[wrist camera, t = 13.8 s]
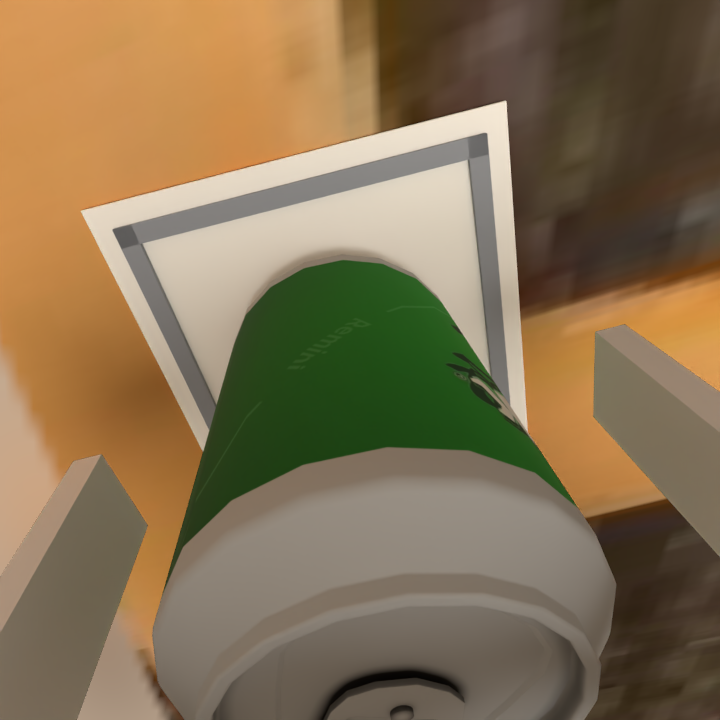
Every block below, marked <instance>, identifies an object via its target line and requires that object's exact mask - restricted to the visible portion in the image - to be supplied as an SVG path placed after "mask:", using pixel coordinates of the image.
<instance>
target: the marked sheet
mask: <svg viewBox="0 0 720 720" xmlns="http://www.w3.org/2000/svg"><path fill="white" fill-rule="evenodd" d="M81 213H82V215H83V217H84V219H85V220H86V222H87V224H88V226H89V228H90V230H91V232H92V234H93V236H94V238H95V240H96V242H97V244H98V246H99V248H100V250H101V252H102V254H103V256H104V258H105V260H106V262H107V264H108V266H109V268H110V270H111V272H112V274H113V276H114V278H115V280H116V282H117V284H118V286H119V287H120V289H121V291H122V293H123V295H124V297H125V299H126V301H127V303H128V305H129V307H130V309H131V311H132V313H133V315H134V317H135V319H136V321H137V323H138V325H139V327H140V329H141V331H142V333H143V335H144V337H145V339H146V341H147V343H148V345H149V347H150V349H151V351H152V353H153V355H154V356H155V358H156V360H157V362H158V364H159V366H160V368H161V370H162V372H163V374H164V376H165V378H166V380H167V382H168V384H169V386H170V388H171V390H172V392H173V394H174V396H175V398H176V400H177V402H178V404H179V406H180V408H181V410H182V412H183V414H184V416H185V418H186V420H187V422H188V423H189V425H190V427H191V429H192V431H193V433H194V435H195V437H196V439H197V441H198V443H199V445H200V447H201V449H202V451H204V447H205V444H206V440H207V437H208V433H209V430H210V426H211V423H212V419H213V416H214V412H215V409H216V405H217V402H218V398H219V395H220V391H221V388H222V384H223V381H224V377H225V374H226V370H227V367H228V363H229V360H230V356H231V353H232V349H233V346H234V342H235V339H236V336H237V334H238V331H239V329H240V326H241V324H242V321H243V319H244V316H245V313H246V311H247V308H248V307H249V306H250V305H251V304H252V303H253V302H254V300H255V299H256V298H257V297H258V296H259V295H260V294H261V292H262V291H263V290H264V289H265V288H266V287H267V286H268V285H269V283H270V282H271V281H273V280H274V279H276V278H278V277H279V276H281V275H283V274H285V273H286V272H288V271H290V270H292V269H293V268H295V267H297V266H299V265H300V264H302V263H304V262H308V261H313V260H317V259H322V258H327V257H332V256H336V255H341V254H343V255H353V256H363V257H373V258H380V259H382V260H385V261H387V262H389V263H391V264H393V265H396V266H398V267H400V268H402V269H405V270H407V271H409V272H411V273H413V274H414V275H416V276H417V277H418V278H419V279H420V280H421V281H422V282H423V283H424V284H425V285H426V286H427V287H428V288H429V289H430V290H431V291H432V292H433V293H435V294H436V295H437V296H438V298H439V299H440V301H441V302H442V304H443V305H444V307H445V308H446V310H447V311H448V313H449V314H450V316H451V317H452V319H453V320H454V322H455V323H456V325H457V326H458V328H459V329H460V331H461V332H462V334H463V335H464V337H465V338H466V340H467V341H468V343H469V344H470V346H471V347H472V349H473V350H474V352H475V353H476V355H477V356H478V358H479V359H480V361H481V362H482V364H483V365H484V367H485V369H486V370H487V372H488V373H489V375H490V376H491V378H492V379H493V381H494V382H495V384H496V385H497V387H498V388H499V390H500V391H501V393H502V394H503V396H504V397H505V399H506V400H507V402H508V403H509V405H510V406H511V408H512V409H513V411H514V412H515V414H516V415H517V417H518V418H519V420H520V421H521V423H522V424H523V426H524V427H525V429H526V430H527V432H528V428H527V413H526V397H525V382H524V366H523V351H522V336H521V320H520V305H519V290H518V274H517V259H516V244H515V228H514V213H513V198H512V182H511V167H510V152H509V136H508V121H507V106H506V101H501V102H497V103H493V104H489V105H485V106H482V107H478V108H474V109H470V110H466V111H462V112H458V113H455V114H451V115H447V116H443V117H439V118H435V119H431V120H428V121H424V122H420V123H416V124H412V125H408V126H404V127H401V128H397V129H393V130H389V131H385V132H381V133H377V134H374V135H370V136H366V137H362V138H358V139H354V140H350V141H347V142H343V143H339V144H335V145H331V146H327V147H323V148H320V149H316V150H312V151H308V152H304V153H300V154H296V155H293V156H289V157H285V158H281V159H277V160H273V161H269V162H266V163H262V164H258V165H254V166H250V167H246V168H242V169H239V170H235V171H231V172H227V173H223V174H219V175H215V176H212V177H208V178H204V179H200V180H196V181H192V182H189V183H185V184H181V185H177V186H173V187H169V188H165V189H161V190H158V191H154V192H150V193H146V194H142V195H138V196H134V197H131V198H127V199H123V200H119V201H115V202H111V203H108V204H104V205H100V206H96V207H92V208H88V209H84V210H82V211H81Z"/></svg>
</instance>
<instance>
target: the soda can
mask: <svg viewBox="0 0 720 720" xmlns="http://www.w3.org/2000/svg"><path fill="white" fill-rule="evenodd" d="M615 592H616V582H615V579H614V577H613V574H612V572H611V570H610V567H609V565H608V563H607V560H606V558H605V556H604V553H603V551H602V548H601V546H600V544H599V541H598V539H597V537H596V534H595V533H594V531H593V530H592V528H591V527H590V525H589V524H588V522H587V521H586V519H585V518H584V516H583V515H582V513H581V512H580V510H579V509H578V507H577V506H576V504H575V503H574V501H573V500H572V498H571V497H570V495H569V494H568V492H567V491H566V489H565V488H564V486H563V485H562V483H561V482H560V480H559V479H558V477H557V476H556V474H555V473H554V471H553V470H552V468H551V467H550V465H549V464H548V462H547V461H546V459H545V457H544V456H543V454H542V453H541V451H540V450H539V448H538V447H537V445H536V444H535V442H534V441H533V439H532V438H531V436H530V435H529V433H528V432H527V430H526V429H525V427H524V426H523V424H522V423H521V421H520V420H519V418H518V417H517V415H516V414H515V412H514V411H513V409H512V408H511V406H510V405H509V403H508V402H507V400H506V399H505V397H504V396H503V394H502V393H501V391H500V390H499V388H498V387H497V385H496V384H495V382H494V381H493V379H492V378H491V376H490V375H489V373H488V372H487V370H486V369H485V367H484V365H483V364H482V362H481V361H480V359H479V358H478V356H477V355H476V353H475V352H474V350H473V349H472V347H471V346H470V344H469V343H468V341H467V340H466V338H465V337H464V335H463V334H462V332H461V331H460V329H459V328H458V326H457V325H456V323H455V322H454V320H453V319H452V317H451V316H450V314H449V313H448V311H447V310H446V308H445V307H444V305H443V304H442V302H441V301H440V299H439V298H438V296H437V295H436V294H435V293H433V292H432V291H431V290H430V289H429V288H428V287H427V286H426V285H425V284H424V283H423V282H422V281H421V280H420V279H419V278H418V277H417V276H416V275H414V274H413V273H411V272H409V271H407V270H405V269H402V268H400V267H398V266H396V265H393V264H391V263H389V262H387V261H385V260H382V259H380V258H373V257H363V256H353V255H343V254H341V255H336V256H332V257H327V258H322V259H317V260H313V261H308V262H304V263H302V264H300V265H299V266H297V267H295V268H293V269H292V270H290V271H288V272H286V273H285V274H283V275H281V276H279V277H278V278H276V279H274V280H273V281H271V282H270V283H269V285H268V286H267V287H266V288H265V289H264V290H263V291H262V292H261V294H260V295H259V296H258V297H257V298H256V299H255V300H254V302H253V303H252V304H251V305H250V306H249V307H248V308H247V311H246V313H245V316H244V319H243V321H242V324H241V326H240V329H239V331H238V334H237V336H236V339H235V342H234V346H233V349H232V353H231V356H230V360H229V363H228V367H227V370H226V374H225V377H224V381H223V384H222V388H221V391H220V395H219V398H218V402H217V405H216V409H215V412H214V416H213V419H212V423H211V426H210V430H209V433H208V437H207V440H206V444H205V447H204V451H203V454H202V458H201V461H200V465H199V468H198V472H197V475H196V479H195V482H194V486H193V489H192V493H191V496H190V500H189V503H188V507H187V510H186V514H185V517H184V521H183V524H182V528H181V531H180V535H179V538H178V542H177V545H176V549H175V552H174V556H173V559H172V563H171V566H170V570H169V573H168V577H167V580H166V584H165V587H164V591H163V594H162V598H161V601H160V605H159V608H158V612H157V615H156V619H155V622H154V626H153V635H152V637H153V645H154V654H155V662H156V671H157V679H158V683H159V685H160V687H161V688H162V690H163V691H164V692H165V694H166V695H167V697H168V698H169V699H170V701H171V702H172V703H173V705H174V706H175V707H176V709H177V710H178V711H179V713H180V714H181V715H182V717H183V718H184V719H185V720H584V719H585V718H586V716H587V715H588V713H589V712H590V710H591V709H592V707H593V706H594V704H595V703H596V701H597V698H598V690H599V682H600V673H601V663H600V661H599V657H600V655H601V653H602V651H603V649H604V646H605V644H606V642H607V640H608V638H609V635H610V631H611V623H612V616H613V608H614V600H615Z"/></svg>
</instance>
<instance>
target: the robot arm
mask: <svg viewBox="0 0 720 720" xmlns="http://www.w3.org/2000/svg"><path fill="white" fill-rule="evenodd" d="M593 417H594V418H595V419H596V420H597V421H598V422H599V423H600V425H601V426H602V427H603V428H604V429H605V430H606V431H607V432H608V433H609V435H610V436H611V437H612V438H613V439H614V440H615V441H616V442H617V443H618V445H619V446H620V447H621V448H622V449H623V450H624V451H625V452H626V453H627V455H628V456H629V457H630V458H631V459H632V460H633V461H634V462H635V463H636V465H637V466H638V467H639V468H640V469H641V470H642V471H643V472H644V473H645V474H646V476H647V477H648V478H649V479H650V480H651V481H652V482H653V483H654V484H655V486H656V487H657V488H658V489H659V490H660V491H661V492H662V493H663V494H664V496H665V497H666V498H667V499H668V500H669V501H670V502H671V503H672V504H673V506H674V507H675V508H676V509H677V510H678V511H679V512H680V513H681V514H682V516H683V517H684V518H685V519H686V520H687V521H688V522H689V523H690V524H691V526H692V527H693V528H694V529H695V530H696V531H697V532H698V533H699V534H700V536H701V537H702V538H703V539H704V540H705V541H706V542H707V543H708V544H709V545H710V547H711V548H712V549H713V550H714V551H715V552H716V553H717V554H718V555H719V557H720V392H719V391H718V390H716V389H715V388H713V387H712V386H710V385H709V384H708V383H706V382H705V381H703V380H702V379H701V378H699V377H698V376H696V375H695V374H694V373H692V372H691V371H689V370H688V369H687V368H685V367H684V366H682V365H681V364H680V363H678V362H677V361H675V360H674V359H673V358H671V357H670V356H668V355H667V354H666V353H664V352H663V351H661V350H660V349H659V348H657V347H656V346H654V345H653V344H652V343H650V342H649V341H647V340H646V339H645V338H643V337H642V336H640V335H639V334H637V333H636V332H635V331H633V330H632V329H630V328H629V327H628V326H626V325H625V324H624V325H620V326H616V327H612V328H608V329H604V330H600V331H596V332H595V366H594V413H593ZM147 526H148V525H147V523H146V522H145V520H144V519H143V517H142V516H141V514H140V513H139V511H138V509H137V508H136V506H135V505H134V503H133V502H132V500H131V499H130V497H129V496H128V494H127V492H126V491H125V489H124V488H123V486H122V485H121V483H120V482H119V480H118V479H117V477H116V475H115V474H114V472H113V471H112V469H111V468H110V466H109V465H108V463H107V462H106V460H105V458H104V457H103V455H102V454H100V455H96V456H92V457H88V458H84V459H80V460H76V461H73V463H72V464H71V466H70V467H69V469H68V471H67V472H66V474H65V475H64V477H63V478H62V480H61V482H60V483H59V485H58V486H57V488H56V489H55V491H54V493H53V494H52V496H51V497H50V499H49V501H48V502H47V504H46V505H45V507H44V509H43V510H42V512H41V513H40V515H39V516H38V518H37V519H36V521H35V523H34V524H33V526H32V527H31V529H30V531H29V532H28V534H27V535H26V537H25V538H24V540H23V542H22V543H21V545H20V546H19V548H18V549H17V551H16V553H15V554H14V556H13V557H12V559H11V560H10V562H9V564H8V565H7V567H6V568H5V570H4V572H3V573H2V575H1V576H0V720H77V718H78V715H79V712H80V710H81V707H82V704H83V701H84V699H85V696H86V693H87V691H88V688H89V685H90V682H91V680H92V677H93V674H94V671H95V669H96V666H97V663H98V660H99V658H100V655H101V652H102V649H103V647H104V644H105V641H106V638H107V636H108V633H109V630H110V628H111V625H112V622H113V619H114V617H115V614H116V611H117V609H118V606H119V603H120V600H121V598H122V595H123V592H124V589H125V587H126V584H127V581H128V578H129V576H130V573H131V570H132V568H133V565H134V562H135V559H136V557H137V554H138V551H139V548H140V546H141V543H142V540H143V537H144V535H145V532H146V529H147Z"/></svg>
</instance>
